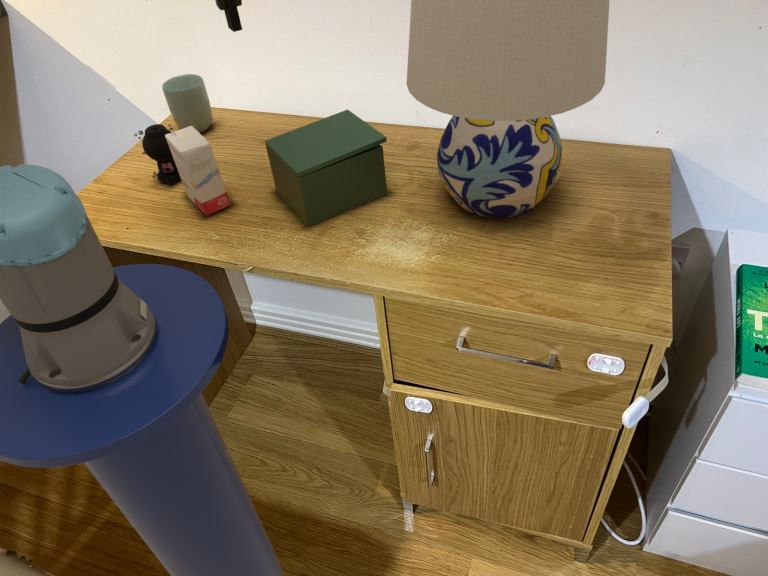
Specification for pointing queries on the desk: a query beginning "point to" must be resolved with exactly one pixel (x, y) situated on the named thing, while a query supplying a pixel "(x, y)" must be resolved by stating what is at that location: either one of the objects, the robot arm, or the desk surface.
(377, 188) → the chest
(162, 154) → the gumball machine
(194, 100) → the cup
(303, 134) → the lid
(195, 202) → the ink box
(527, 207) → the table lamp
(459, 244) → the desk surface
